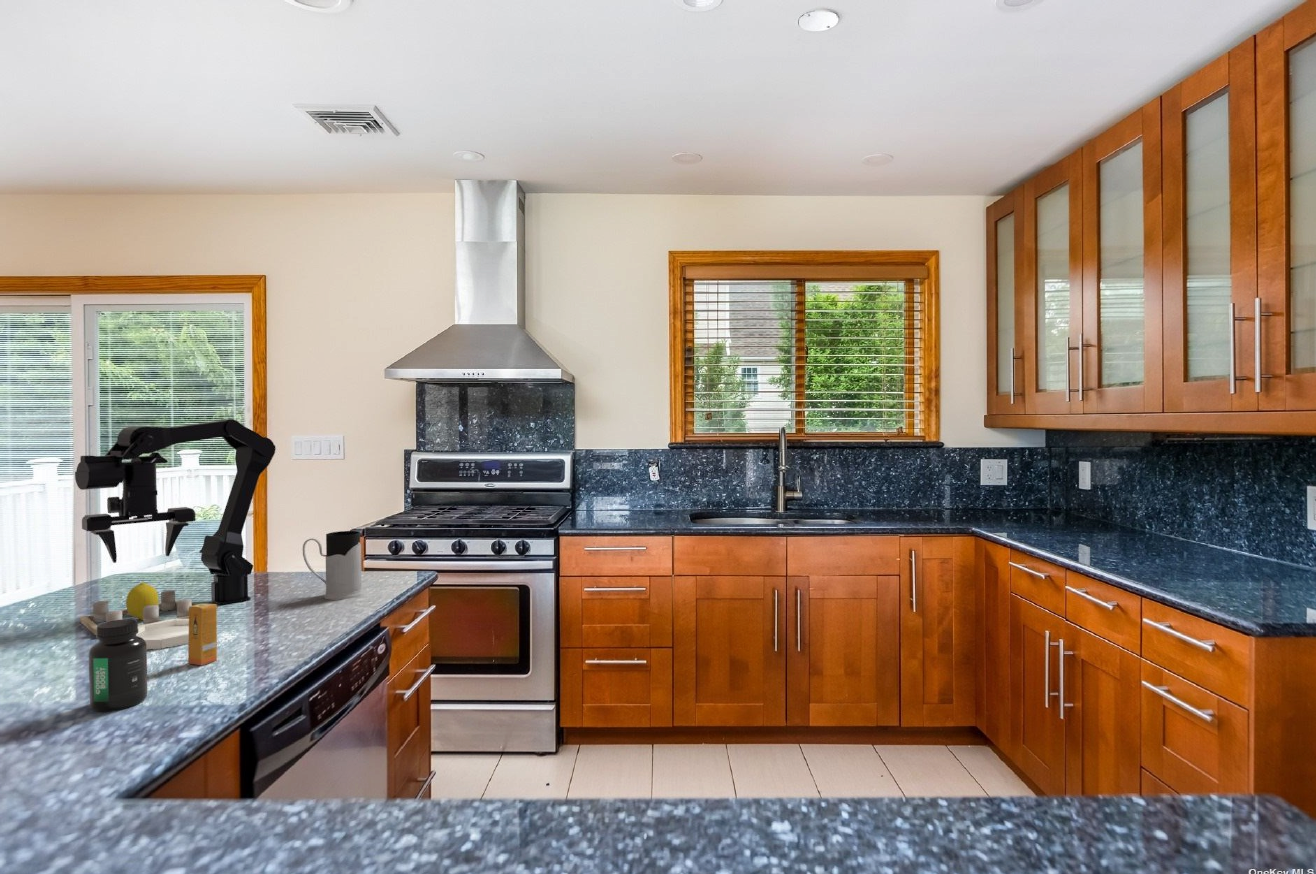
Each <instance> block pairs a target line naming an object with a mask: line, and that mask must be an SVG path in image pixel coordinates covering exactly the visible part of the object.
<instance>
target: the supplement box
mask: <svg viewBox="0 0 1316 874" xmlns="http://www.w3.org/2000/svg"><path fill="white" fill-rule="evenodd" d="M217 606H218V603H198V604H197V603H196V604H194V605H193V604H192V606H189V640H188V641H189V642H188V644H187V645H188V649H187V650H188V654H187V655H188V656H187V657H188V658H187V659H188V660H187V663H188V664H189V665H197V666H205V665H208V664H210V663H213V662H217V661H218V655H217V654H218V653H217V652H218V651H217V650H218V648H217V647H218V645H217V644H218V630H217V629H218V625H217V624H218V618H217V616H218V611H217V610H218V607H217Z"/></svg>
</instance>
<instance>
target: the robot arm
mask: <svg viewBox="0 0 1316 874" xmlns="http://www.w3.org/2000/svg"><path fill="white" fill-rule="evenodd" d="M116 438H117V439H116V440H117V441H116V442H115V443H114V444H113V446H111V448H110V449H109V450H108V452H106V454H105V455H80V458H79V459H80V460H79V461H80V462H78V464H77V466H76V471H75V472H74V478H75V483H76V486H77V487H78V489H79V490H80V491H81V490H82V491H84V490H86V491H87V490H98V489H111V488H117V487H119V485H120V484H122V493H121V494H122V497H121V498H120V496H109V497H108V498H107V499H106V500H107V503H106V504H107V506H106V507H107V513H95V514H85V515H84V516H83V517H82V518H81V529H82V530H84V531H86V532H90V533H92V534H93V535H95V536H99V537H100V539H101V541H102V542H103V543H104V546H105V548H106V550H107V552H108V555H109V557H110V558H111V561H112V563H113V564H115V563H117V557H118V555H117V548H116V547H117V546H116V537H115V531H114V530H113V529H112V528H111V527H112V526H121V525H130V524H142V523H151V522H152V523H153V522H165V527H166V535H165V545H164V547H165V551H164V552H165V556H166V557H170V554H171V552H172V550H173V548H174V545H175V544H176V541H177V538H178V537H179V535H180V533H181V532H182V530H183V528H184V527H188V526H189V522H197V521H196V520H197V519H196V511H195V509H194V508H192V507H187V506H181V507H171V508H169V507H168V508H167V511H165V512H164V511H161V512H159V509H158V500H157V499H158V497H157V496H158V489H157V464H167V463H168V459H166V457H163V456H162V454H160V453H159V452H158V451H161V450H165V449H167V448H169V447H171V446H173V445H177V444H183V443H189V442H195V441H202V440H209V439H216V438H222V439H223V440H224V441H225V442H226V444H227V445H228V446H229V447H231V448H232V449H233V450H235V456H234V457H235V458H234V461H235V465H236V473H235V477H234V479H233V483H232V486H231V489H230V492H229V496H228V498H227V502H226V505H225V508H224V511H223V514H222V516H221V517H222V518H221V520H220V523H219V527H218V528H217V530H216V531H215V533H214V534H212V535H208V534H207V535H204V539H203V544H202V547H201V549H200V550H199V554H201V556H200V561H201V562H202V564H203V565H204V566H205V567H206V568H207V569H208V571H209V573H210V575H213V581H212V582H211V583H210V587H211V588H210V589H211V590H210V592H211V594H210V595H211V597H210V598H211V599H210V600H211V601H212V602H213V603H215V604H217V605H227V604H233V603H239V602H243V601H248V600H249V601H250V600H252V599H251V597H252V596H251V597H250V596H249V583H248V580H249V579H248V578H249V577H248V576H249V575H251V574H252V573H253V569H254V565H253V564H252V563H251V562H250V561H248V560H247V559H246V558H245V557H244V556H243V555H244V548H245V547H244V546H245V545H244V542H243V541H244V540H243V535H242V534H243V533H242V532H243V529H244V525H245V523H246V520H247V516H248V514H249V510H250V508H251V504H252V501H253V498H254V494H255V491H256V488H257V485H258V481H259V478H260V476H261V474H263V472H264V471H265V470H266V469H267V468H268V467H269V465H270V464H271V462H272V459H273V458H274V457H275V454H276V449H277V448H276V445H275V443H274V441H272V439H271V438H268V437H264V436H262V435H261V434H259V433H257V432H256V431H254V430H252V429H251V428H248V427H247V426H244V425H243V424H242V423H240V422H239V421H237V420H236V419H232V418H228V419H227V418H224V419H222V418H221V419H218V420H214V421H208V422H200V423H190V424H184V425H174V426H168V427H167V426H145V425H144V426H143V425H142V426H127V427H123V428H122V429H121V431H120V432H119V433H118V435H117V437H116ZM144 454H149V455H144ZM142 455H143V456H142ZM123 460H130V461H123ZM111 514H118V515H117V516H111ZM167 521H168V522H167Z"/></svg>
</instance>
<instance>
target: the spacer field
mask: <svg viewBox="0 0 1316 874" xmlns="http://www.w3.org/2000/svg"><path fill="white" fill-rule="evenodd" d="M192 601H193V600H192V599H191V598H185V599H179V600H176V591H175V590H172V589H171V590H165V591H164V590H163V591H160V602H159V603H158V605H150V606H145V607H143V620H142V624H138V626H142V625H146V624H151V623H157V622H162V621H168V620H173V619H189V606H193V604H192V603H193V602H192ZM109 607H110V605H109V600H98V601H95V602H92V614H88V615H83V616H79V622H80V623H81V624H82V625H83V626H84V627H85V626H86V627H85V628H87V630H89V631H90V632H91V633H92V634H93V635H94V636H95V635H97V626H98V625H97V624H99V622H101V623H104V622H103V621H106V622H109V621H114V620H122V619H123V615H122V614H127V616H128V615H129V616H128V617H133V616H132V615H131V614H130V613H129V612H128V610H127V608H125V609H117V610H111V611H109V610H110V608H109ZM160 610H162V611H161V612H168V610H170V611H174V610H176V618H171V619H170V618H169V619H165V620H160V614H159V613H160ZM91 620H92V621H91Z"/></svg>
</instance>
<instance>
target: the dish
mask: <svg viewBox="0 0 1316 874" xmlns="http://www.w3.org/2000/svg"><path fill="white" fill-rule="evenodd" d="M172 619H173V620H169V619H167V620H168V621H164V620H161V621H162V622H157V623H151V624H146V625H142V624H141V625H142V626H138V633H137V634H136V636H138V637H141V638H143V639H144V640H145V642H146V646H147V649H153V650H162V649H161V648H165V647H170V648H174V647H173V646H175V647H178V646H177V645H179V646H183V645H184V646H185V645H188V642H189V641H188V640H189V619H175V618H172ZM165 649H166V648H165Z"/></svg>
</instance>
